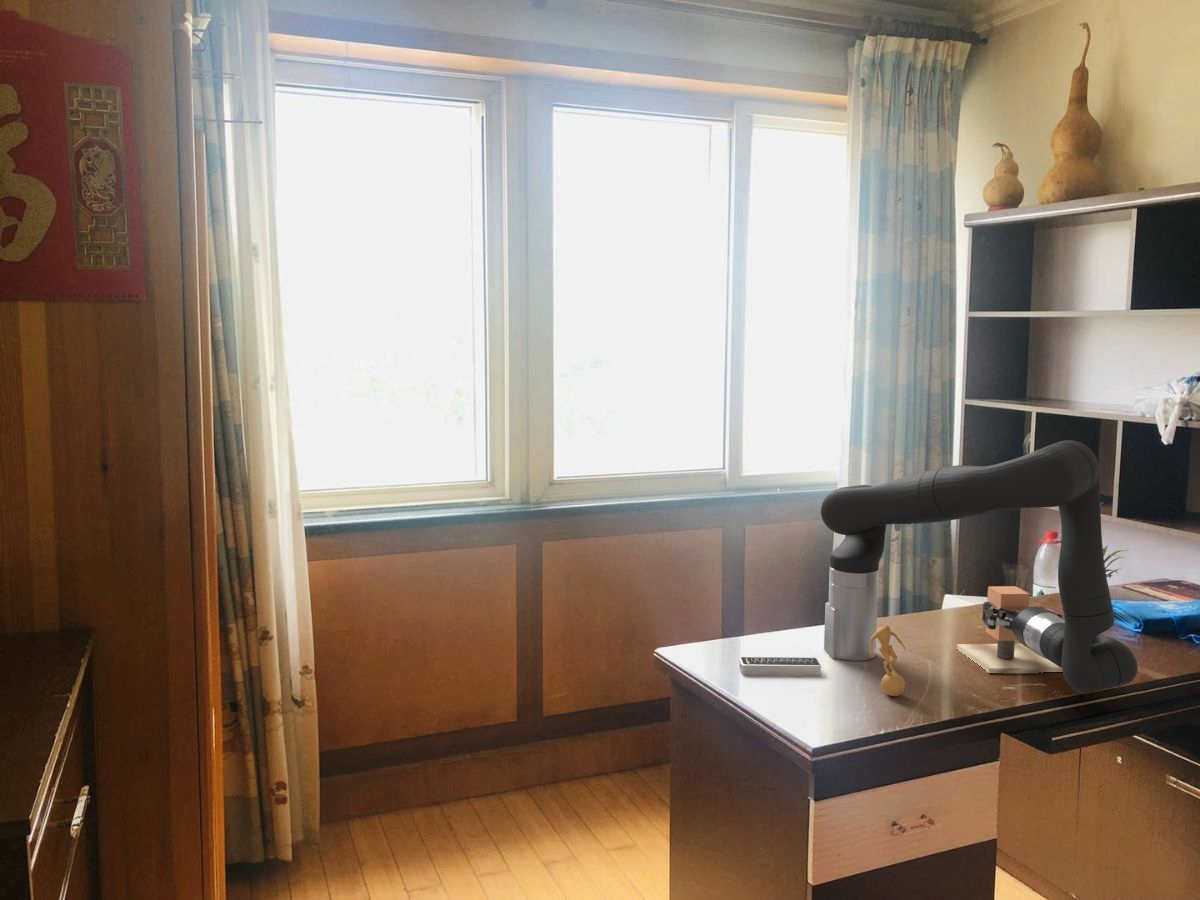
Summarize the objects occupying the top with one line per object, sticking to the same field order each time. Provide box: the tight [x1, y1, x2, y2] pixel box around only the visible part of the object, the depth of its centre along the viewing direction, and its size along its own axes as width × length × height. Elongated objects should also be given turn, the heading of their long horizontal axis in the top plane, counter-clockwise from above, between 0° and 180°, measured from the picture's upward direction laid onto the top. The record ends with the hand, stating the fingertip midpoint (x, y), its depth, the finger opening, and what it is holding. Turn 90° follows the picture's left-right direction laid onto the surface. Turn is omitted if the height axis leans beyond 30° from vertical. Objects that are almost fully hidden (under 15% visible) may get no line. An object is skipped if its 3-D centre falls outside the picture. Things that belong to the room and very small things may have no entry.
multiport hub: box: [738, 656, 822, 677], centre depth 176 cm, size 4×14×2 cm, turn 89°
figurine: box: [869, 625, 906, 697], centre depth 164 cm, size 8×6×12 cm
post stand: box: [956, 640, 1063, 674], centre depth 181 cm, size 22×14×11 cm, turn 93°
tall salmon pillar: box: [985, 585, 1030, 642], centre depth 180 cm, size 5×5×9 cm
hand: (1001, 606), depth 182 cm, fingers closed on tall salmon pillar, 5 cm apart
